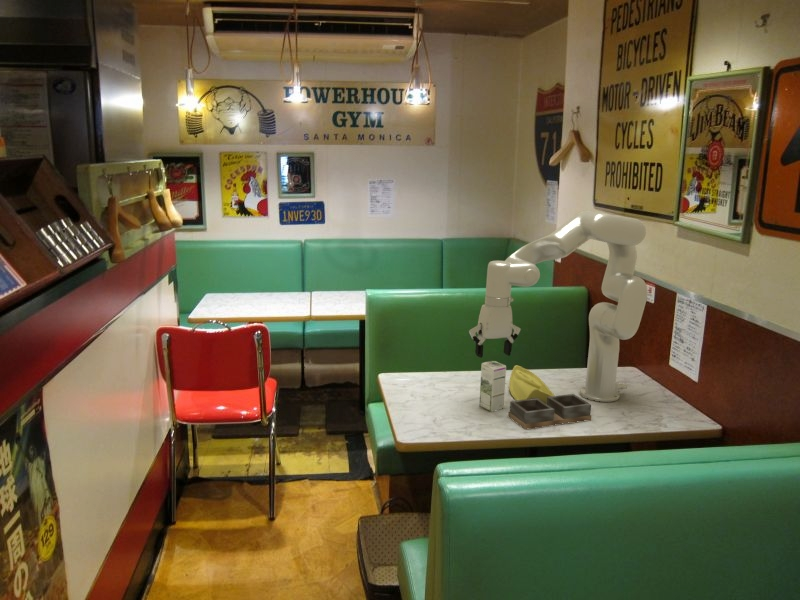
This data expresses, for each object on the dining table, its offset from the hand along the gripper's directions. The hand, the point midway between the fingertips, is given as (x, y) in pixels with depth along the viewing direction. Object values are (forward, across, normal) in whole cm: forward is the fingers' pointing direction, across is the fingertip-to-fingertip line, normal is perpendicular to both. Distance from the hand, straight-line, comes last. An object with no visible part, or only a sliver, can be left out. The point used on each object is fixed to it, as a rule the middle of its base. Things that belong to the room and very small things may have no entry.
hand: (493, 355), depth 211 cm
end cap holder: (+17, -14, +13) cm, 26 cm away
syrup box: (+18, -1, 0) cm, 18 cm away
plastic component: (+17, -19, -6) cm, 26 cm away
